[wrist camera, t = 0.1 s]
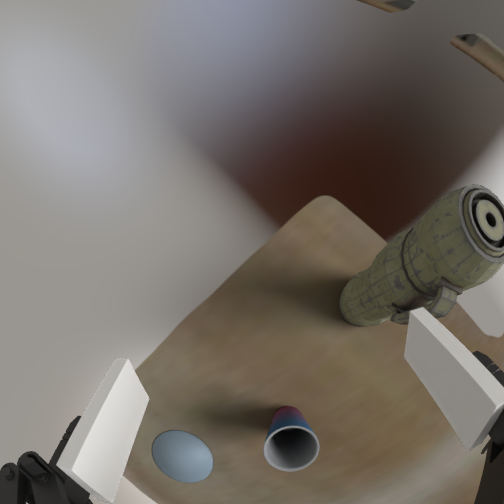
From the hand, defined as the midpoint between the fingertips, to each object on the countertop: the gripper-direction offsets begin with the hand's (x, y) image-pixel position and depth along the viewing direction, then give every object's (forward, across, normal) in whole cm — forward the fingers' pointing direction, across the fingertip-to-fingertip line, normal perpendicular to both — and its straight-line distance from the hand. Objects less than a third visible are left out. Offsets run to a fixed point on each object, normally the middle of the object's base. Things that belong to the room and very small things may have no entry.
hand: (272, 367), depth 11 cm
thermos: (+32, -16, +17) cm, 40 cm away
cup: (+22, 0, +32) cm, 38 cm away
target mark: (+18, +20, +37) cm, 46 cm away
